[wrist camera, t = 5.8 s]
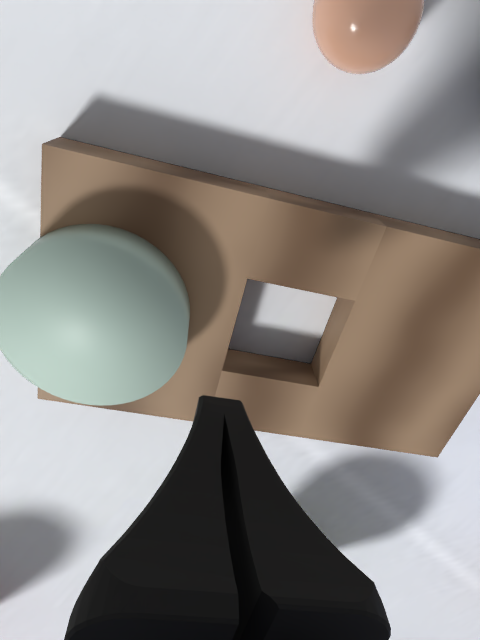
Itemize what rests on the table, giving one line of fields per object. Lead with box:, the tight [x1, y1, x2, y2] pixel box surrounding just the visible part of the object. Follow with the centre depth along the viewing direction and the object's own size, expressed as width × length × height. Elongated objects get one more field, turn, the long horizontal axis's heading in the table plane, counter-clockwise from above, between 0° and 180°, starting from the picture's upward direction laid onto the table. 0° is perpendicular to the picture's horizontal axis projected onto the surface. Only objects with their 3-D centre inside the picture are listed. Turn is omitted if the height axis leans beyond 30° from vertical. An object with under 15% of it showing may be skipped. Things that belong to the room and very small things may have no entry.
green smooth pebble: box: [0, 224, 190, 406], centre depth 18 cm, size 8×8×2 cm
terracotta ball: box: [313, 0, 424, 74], centre depth 14 cm, size 4×4×4 cm
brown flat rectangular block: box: [38, 137, 480, 457], centre depth 21 cm, size 22×12×2 cm, turn 76°
